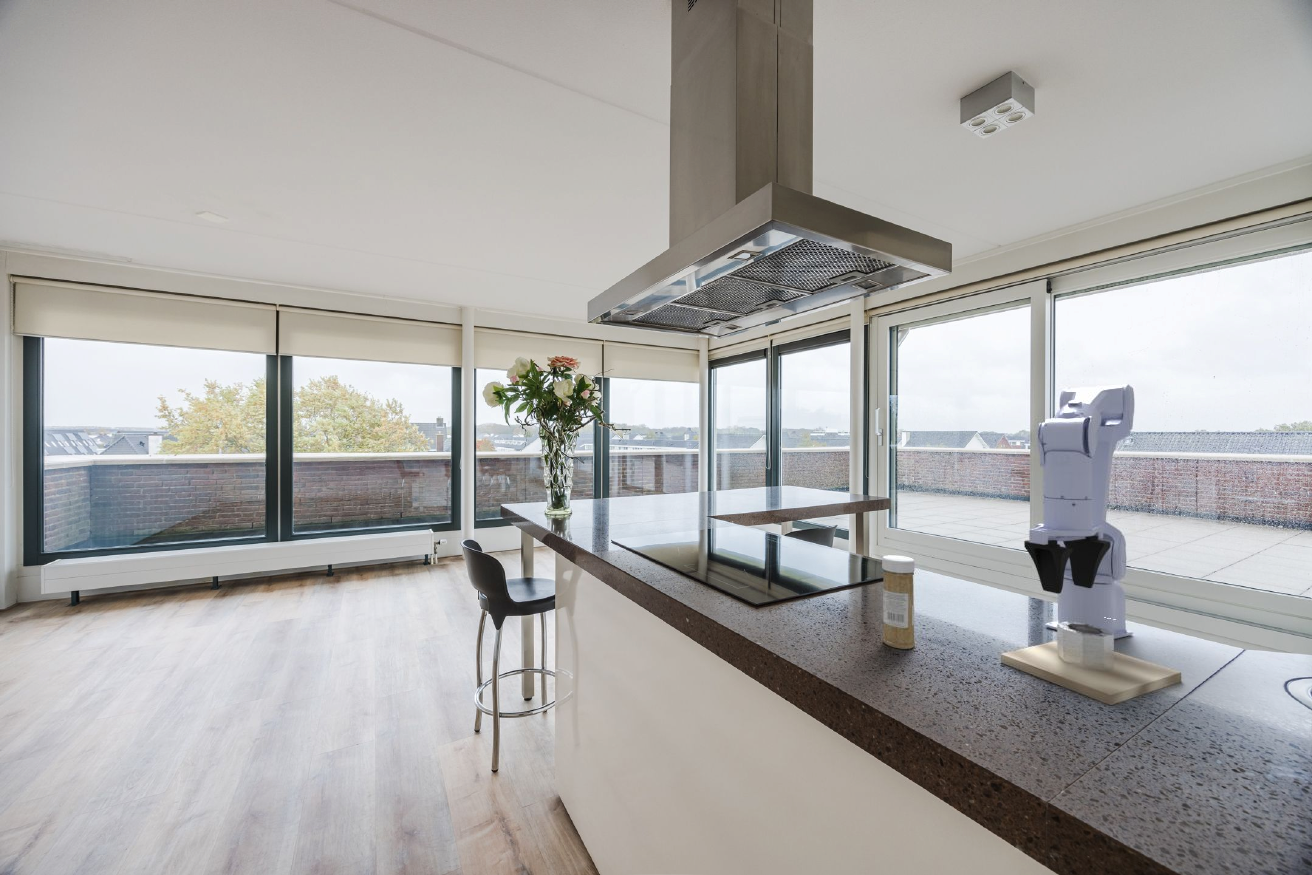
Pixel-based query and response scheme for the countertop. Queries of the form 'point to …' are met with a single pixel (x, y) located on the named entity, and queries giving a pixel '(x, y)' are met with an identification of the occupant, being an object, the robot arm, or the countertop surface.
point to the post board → (1093, 673)
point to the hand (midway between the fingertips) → (1067, 589)
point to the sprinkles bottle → (898, 601)
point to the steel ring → (1085, 646)
